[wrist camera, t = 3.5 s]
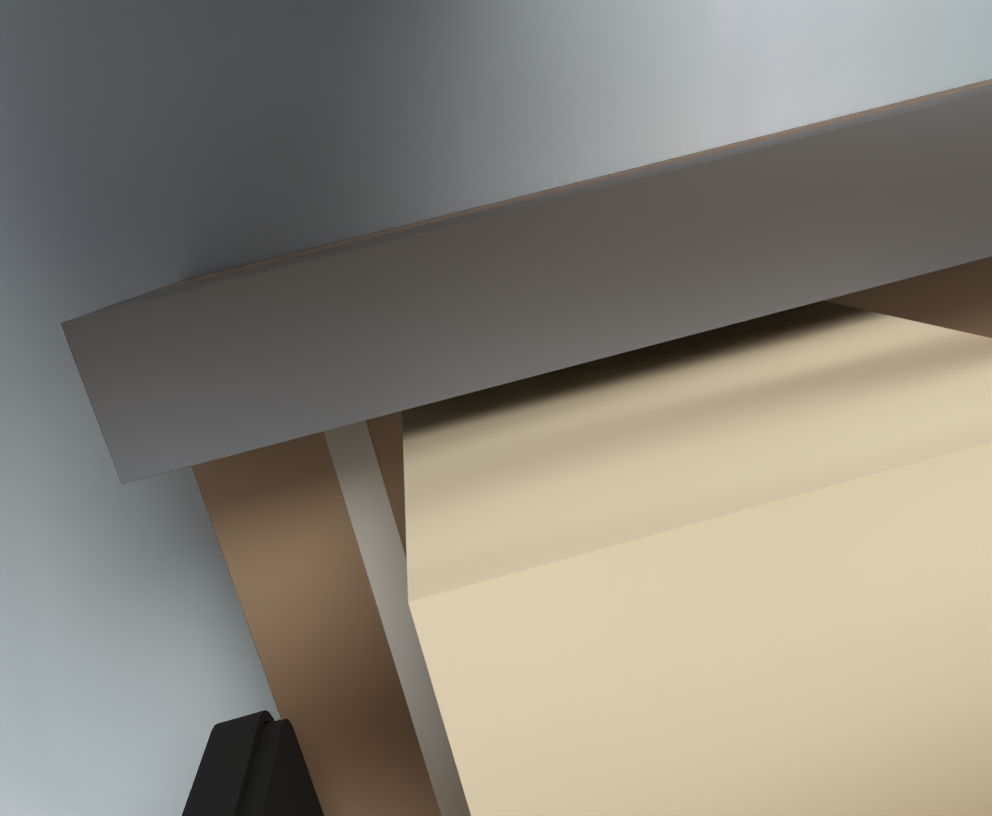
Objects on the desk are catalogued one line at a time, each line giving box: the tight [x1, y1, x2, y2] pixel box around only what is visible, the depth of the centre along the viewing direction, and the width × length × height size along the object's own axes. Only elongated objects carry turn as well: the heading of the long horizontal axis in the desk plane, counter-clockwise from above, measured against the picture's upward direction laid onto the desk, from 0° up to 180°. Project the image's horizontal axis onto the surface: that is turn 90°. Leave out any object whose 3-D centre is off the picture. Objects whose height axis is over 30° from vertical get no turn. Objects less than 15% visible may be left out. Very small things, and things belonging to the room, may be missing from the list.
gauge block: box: [402, 301, 992, 816], centre depth 8 cm, size 9×5×5 cm, turn 13°
